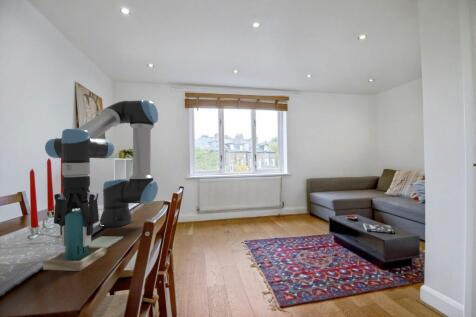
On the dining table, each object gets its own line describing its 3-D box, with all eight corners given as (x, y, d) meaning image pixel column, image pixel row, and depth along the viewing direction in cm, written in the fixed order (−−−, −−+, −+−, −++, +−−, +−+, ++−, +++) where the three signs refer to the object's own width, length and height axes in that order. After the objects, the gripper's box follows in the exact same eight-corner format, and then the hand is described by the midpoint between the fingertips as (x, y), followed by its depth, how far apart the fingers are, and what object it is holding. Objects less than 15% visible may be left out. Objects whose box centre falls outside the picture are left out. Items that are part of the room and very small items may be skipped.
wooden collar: (74, 252, 79) (74, 245, 79) (106, 253, 79) (106, 246, 79) (43, 269, 67) (43, 261, 67) (80, 270, 67) (80, 262, 67)
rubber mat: (100, 237, 95) (100, 236, 95) (123, 237, 94) (123, 236, 94) (81, 247, 84) (81, 246, 84) (106, 248, 83) (106, 247, 83)
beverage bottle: (76, 266, 69) (75, 203, 69) (59, 264, 70) (58, 202, 70) (93, 257, 76) (93, 199, 75) (77, 255, 77) (77, 199, 77)
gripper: (37, 176, 70) (38, 248, 70) (96, 176, 69) (96, 250, 69) (58, 174, 77) (59, 240, 77) (111, 174, 76) (112, 240, 76)
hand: (76, 244), depth 73 cm, fingers closed on beverage bottle, 6 cm apart
